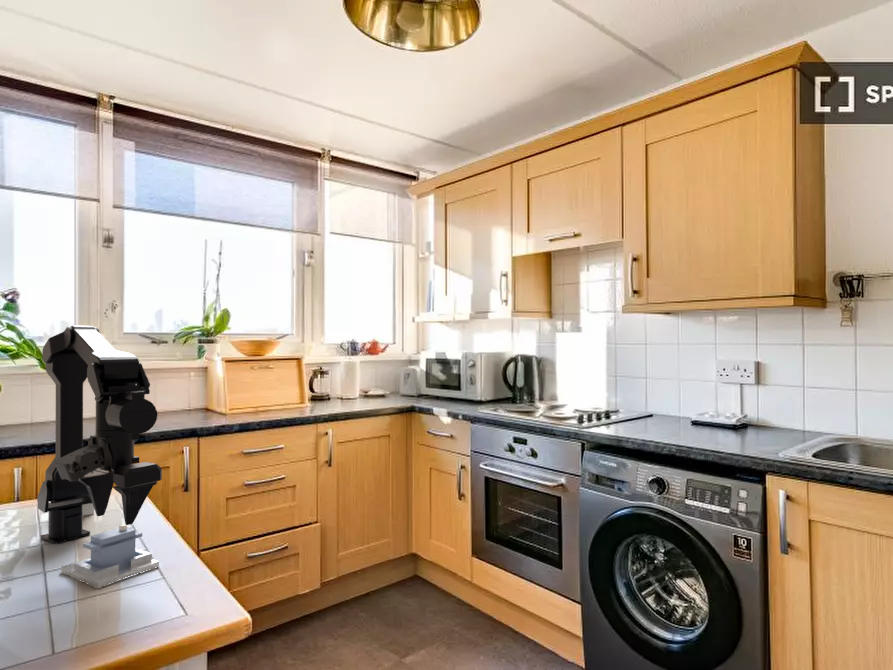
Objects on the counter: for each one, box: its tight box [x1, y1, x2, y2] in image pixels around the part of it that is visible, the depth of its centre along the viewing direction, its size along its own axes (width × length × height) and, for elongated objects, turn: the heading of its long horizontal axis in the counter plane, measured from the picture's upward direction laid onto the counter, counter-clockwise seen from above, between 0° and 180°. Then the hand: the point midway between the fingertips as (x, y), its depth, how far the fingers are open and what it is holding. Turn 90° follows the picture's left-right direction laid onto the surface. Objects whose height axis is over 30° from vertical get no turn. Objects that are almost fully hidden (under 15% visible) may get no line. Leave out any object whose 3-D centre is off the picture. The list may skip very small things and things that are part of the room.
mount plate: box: [60, 547, 160, 589], centre depth 95 cm, size 12×10×2 cm
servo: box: [82, 523, 143, 568], centre depth 94 cm, size 8×3×6 cm, turn 148°
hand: (114, 519), depth 94 cm, fingers open, 9 cm apart
